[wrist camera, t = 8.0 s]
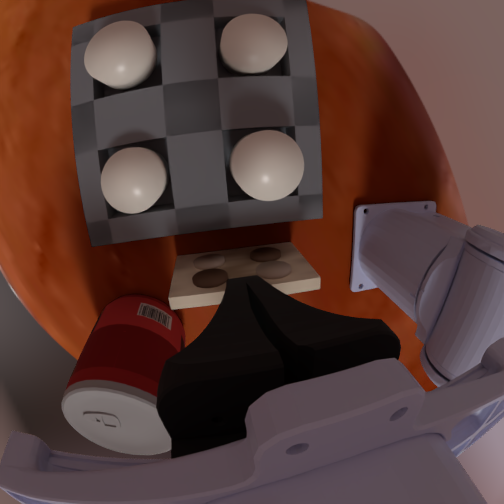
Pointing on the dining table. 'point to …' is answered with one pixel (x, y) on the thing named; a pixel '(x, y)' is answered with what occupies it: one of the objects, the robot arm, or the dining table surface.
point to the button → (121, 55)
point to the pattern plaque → (238, 273)
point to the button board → (196, 120)
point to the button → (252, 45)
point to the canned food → (124, 376)
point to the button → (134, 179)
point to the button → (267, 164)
